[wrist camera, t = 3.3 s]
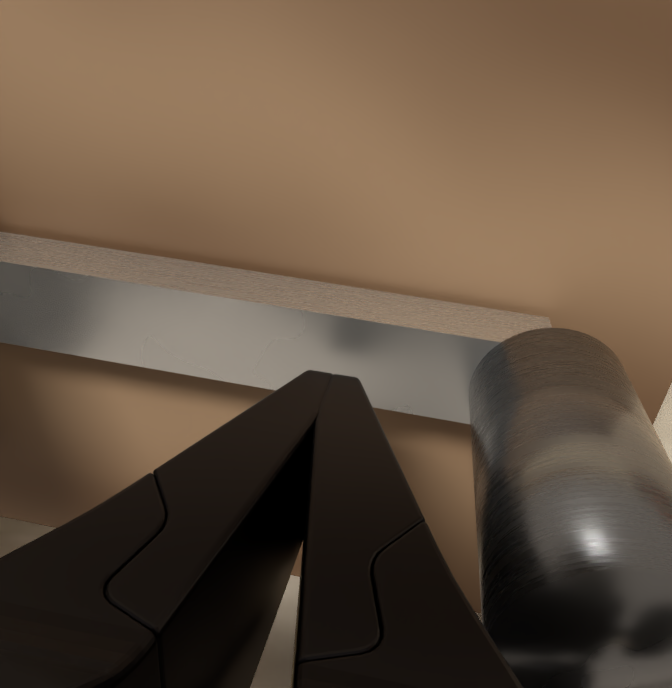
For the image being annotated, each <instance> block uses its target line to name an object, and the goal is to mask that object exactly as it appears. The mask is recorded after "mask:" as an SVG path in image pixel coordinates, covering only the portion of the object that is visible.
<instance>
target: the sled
mask: <svg viewBox="0 0 672 688" xmlns="http://www.w3.org/2000/svg"><path fill="white" fill-rule="evenodd" d="M0 342H1V343H7V344H13V345H19V346H24V347H30V348H36V349H42V350H47V351H53V352H59V353H64V354H70V355H76V356H82V357H87V358H93V359H99V360H105V361H110V362H116V363H122V364H127V365H133V366H139V367H145V368H150V369H156V370H162V371H168V372H173V373H179V374H185V375H190V376H196V377H202V378H208V379H213V380H219V381H225V382H231V383H236V384H242V385H248V386H253V387H259V388H265V389H271V390H277V389H279V388H280V387H282V386H284V385H285V384H287V383H288V382H290V381H291V380H293V379H294V378H296V377H297V376H299V375H300V374H302V373H303V372H305V371H307V370H314V371H321V372H327V373H331V374H339V375H346V376H352V377H357V378H358V379H359V380H360V382H361V384H362V386H363V388H364V390H365V392H366V394H367V396H368V399H369V401H370V403H371V405H372V407H374V408H379V409H385V410H391V411H397V412H402V413H408V414H414V415H419V416H425V417H431V418H437V419H442V420H448V421H454V422H460V423H465V424H470V428H471V445H472V462H473V479H474V496H475V513H476V530H477V546H478V563H479V580H480V597H481V614H482V624H483V625H484V627H485V629H486V630H487V632H488V633H489V635H490V636H491V638H492V639H493V641H494V642H495V644H496V646H497V647H498V649H499V650H500V652H501V653H502V655H503V656H504V658H505V659H506V661H507V663H508V664H509V666H510V667H511V669H512V670H513V672H514V673H515V675H516V677H517V678H518V680H519V681H520V683H521V684H522V686H523V687H524V688H672V463H671V461H670V459H669V457H668V455H667V453H666V451H665V449H664V447H663V445H662V443H661V441H660V439H659V437H658V435H657V433H656V431H655V429H654V427H653V425H652V423H651V421H650V419H649V417H648V415H647V413H646V411H645V409H644V407H643V405H642V403H641V401H640V399H639V397H638V395H637V393H636V391H635V389H634V387H633V385H632V383H631V381H630V379H629V377H628V375H627V373H626V371H625V369H624V367H623V365H622V364H621V362H620V360H619V358H618V357H617V356H616V355H615V353H614V352H613V351H612V350H611V349H610V348H609V347H608V346H606V345H605V344H604V343H602V342H601V341H599V340H598V339H596V338H594V337H592V336H590V335H588V334H585V333H582V332H579V331H575V330H571V329H564V328H552V326H551V323H550V320H549V318H548V317H542V316H536V315H529V314H523V313H517V312H510V311H504V310H498V309H491V308H485V307H478V306H472V305H466V304H459V303H453V302H447V301H440V300H434V299H428V298H421V297H415V296H409V295H402V294H396V293H389V292H383V291H377V290H370V289H364V288H358V287H351V286H345V285H339V284H332V283H326V282H320V281H313V280H307V279H300V278H294V277H288V276H281V275H275V274H269V273H262V272H256V271H250V270H243V269H237V268H231V267H224V266H218V265H211V264H205V263H199V262H192V261H186V260H180V259H173V258H167V257H161V256H154V255H148V254H142V253H135V252H129V251H122V250H116V249H110V248H103V247H97V246H91V245H84V244H78V243H72V242H65V241H59V240H53V239H46V238H40V237H33V236H27V235H21V234H14V233H8V232H2V231H0Z"/></svg>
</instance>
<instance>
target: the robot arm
mask: <svg viewBox="0 0 672 688" xmlns="http://www.w3.org/2000/svg"><path fill="white" fill-rule="evenodd" d="M302 542H303V548H302V560H301V572H300V584H299V595H298V607H297V619H296V630H295V642H294V654H293V665H292V677H291V688H524V687H523V686H522V684H521V683H520V681H519V680H518V678H517V677H516V675H515V673H514V672H513V670H512V669H511V667H510V666H509V664H508V663H507V661H506V659H505V658H504V656H503V655H502V653H501V652H500V650H499V649H498V647H497V646H496V644H495V642H494V641H493V639H492V638H491V636H490V635H489V633H488V632H487V630H486V629H485V627H484V625H483V624H482V622H481V621H480V619H479V618H478V616H477V615H476V613H475V611H474V610H473V608H472V606H471V605H470V603H469V601H468V600H467V598H466V597H465V595H464V593H463V592H462V590H461V588H460V587H459V585H458V583H457V582H456V580H455V578H454V577H453V575H452V573H451V571H450V569H449V567H448V565H447V563H446V561H445V559H444V557H443V555H442V553H441V551H440V550H439V548H438V546H437V544H436V541H435V539H434V537H433V535H432V533H431V531H430V528H429V526H428V524H427V523H425V518H424V516H423V514H422V512H421V510H420V508H419V506H418V503H417V501H416V499H415V497H414V495H413V493H412V491H411V488H410V486H409V484H408V482H407V480H406V478H405V476H404V473H403V471H402V469H401V467H400V465H399V463H398V461H397V458H396V456H395V454H394V452H393V450H392V448H391V446H390V443H389V441H388V439H387V437H386V435H385V433H384V431H383V428H382V426H381V424H380V422H379V420H378V418H377V416H376V414H375V411H374V409H373V407H372V405H371V403H370V401H369V399H368V396H367V394H366V392H365V390H364V388H363V386H362V384H361V382H360V380H359V379H358V378H357V377H352V376H346V375H339V374H331V373H327V372H321V371H314V370H307V371H305V372H303V373H302V374H300V375H299V376H297V377H296V378H294V379H293V380H291V381H290V382H288V383H287V384H285V385H284V386H282V387H280V388H279V389H277V390H276V391H274V392H273V393H271V394H270V395H268V396H267V397H265V398H264V399H262V400H261V401H259V402H257V403H256V404H254V405H253V406H251V407H250V408H248V409H247V410H245V411H244V412H242V413H241V414H239V415H237V416H236V417H234V418H233V419H231V420H230V421H228V422H227V423H225V424H224V425H222V426H221V427H219V428H218V429H216V430H214V431H213V432H211V433H210V434H208V435H207V436H205V437H204V438H202V439H201V440H199V441H198V442H196V443H195V444H193V445H191V446H190V447H188V448H187V449H185V450H184V451H182V452H181V453H179V454H178V455H176V456H175V457H173V458H172V459H170V460H168V461H167V462H165V463H164V464H162V465H161V466H159V467H158V468H156V469H155V470H154V471H153V474H152V473H148V474H147V475H145V476H144V477H142V478H140V479H139V480H137V481H136V482H134V483H133V484H131V485H130V486H128V487H127V488H125V489H123V490H122V491H120V492H118V493H117V494H115V495H114V496H112V497H110V498H109V499H107V500H105V501H104V502H102V503H101V504H99V505H97V506H96V507H94V508H92V509H91V510H89V511H87V512H85V513H83V514H82V515H80V516H78V517H76V518H74V519H72V520H71V521H69V522H67V523H65V524H63V525H62V526H60V527H58V528H56V529H54V530H53V531H51V532H49V533H47V534H45V535H43V536H41V537H39V538H37V539H35V540H34V541H32V542H30V543H28V544H26V545H24V546H22V547H20V548H18V549H16V550H15V551H13V552H11V553H9V554H7V555H5V556H3V557H1V558H0V688H250V686H251V683H252V680H253V677H254V675H255V672H256V669H257V666H258V664H259V661H260V658H261V655H262V652H263V650H264V647H265V644H266V641H267V639H268V636H269V633H270V630H271V628H272V625H273V622H274V619H275V617H276V614H277V611H278V608H279V605H280V603H281V600H282V597H283V594H284V592H285V589H286V586H287V583H288V581H289V578H290V575H291V572H292V570H293V567H294V564H295V561H296V558H297V556H298V553H299V550H300V547H301V545H302Z"/></svg>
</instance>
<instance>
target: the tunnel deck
mask: <svg viewBox="0 0 672 688" xmlns="http://www.w3.org/2000/svg"><path fill="white" fill-rule="evenodd" d="M0 231H2V232H8V233H14V234H21V235H27V236H33V237H40V238H46V239H53V240H59V241H65V242H72V243H78V244H84V245H91V246H97V247H103V248H110V249H116V250H122V251H129V252H135V253H142V254H148V255H154V256H161V257H167V258H173V259H180V260H186V261H192V262H199V263H205V264H211V265H218V266H224V267H231V268H237V269H243V270H250V271H256V272H262V273H269V274H275V275H281V276H288V277H294V278H300V279H307V280H313V281H320V282H326V283H332V284H339V285H345V286H351V287H358V288H364V289H370V290H377V291H383V292H389V293H396V294H402V295H409V296H415V297H421V298H428V299H434V300H440V301H447V302H453V303H459V304H466V305H472V306H478V307H485V308H491V309H498V310H504V311H510V312H517V313H523V314H529V315H536V316H542V317H548V318H549V320H550V323H551V326H552V328H564V329H571V330H575V331H579V332H582V333H585V334H588V335H590V336H592V337H594V338H596V339H598V340H599V341H601V342H602V343H604V344H605V345H606V346H608V347H609V348H610V349H611V350H612V351H613V352H614V353H615V355H616V356H617V357H618V358H619V360H620V362H621V364H622V365H623V367H624V369H625V371H626V373H627V375H628V377H629V379H630V381H631V383H632V385H633V387H634V389H635V391H636V393H637V395H638V397H639V399H640V401H641V403H642V405H643V407H644V409H645V411H646V413H647V415H648V417H649V419H650V421H651V423H652V425H653V423H654V421H655V418H656V416H657V414H658V412H659V409H660V407H661V405H662V403H663V400H664V398H665V396H666V394H667V391H668V389H669V387H670V385H671V382H672V0H0ZM274 391H276V390H271V389H265V388H259V387H253V386H248V385H242V384H236V383H231V382H225V381H219V380H213V379H208V378H202V377H196V376H190V375H185V374H179V373H173V372H168V371H162V370H156V369H150V368H145V367H139V366H133V365H127V364H122V363H116V362H110V361H105V360H99V359H93V358H87V357H82V356H76V355H70V354H64V353H59V352H53V351H47V350H42V349H36V348H30V347H24V346H19V345H13V344H7V343H1V342H0V516H2V517H7V518H12V519H17V520H22V521H27V522H32V523H36V524H41V525H46V526H51V527H56V528H58V527H60V526H62V525H63V524H65V523H67V522H69V521H71V520H72V519H74V518H76V517H78V516H80V515H82V514H83V513H85V512H87V511H89V510H91V509H92V508H94V507H96V506H97V505H99V504H101V503H102V502H104V501H105V500H107V499H109V498H110V497H112V496H114V495H115V494H117V493H118V492H120V491H122V490H123V489H125V488H127V487H128V486H130V485H131V484H133V483H134V482H136V481H137V480H139V479H140V478H142V477H144V476H145V475H147V474H148V473H152V474H153V471H154V470H155V469H156V468H158V467H159V466H161V465H162V464H164V463H165V462H167V461H168V460H170V459H172V458H173V457H175V456H176V455H178V454H179V453H181V452H182V451H184V450H185V449H187V448H188V447H190V446H191V445H193V444H195V443H196V442H198V441H199V440H201V439H202V438H204V437H205V436H207V435H208V434H210V433H211V432H213V431H214V430H216V429H218V428H219V427H221V426H222V425H224V424H225V423H227V422H228V421H230V420H231V419H233V418H234V417H236V416H237V415H239V414H241V413H242V412H244V411H245V410H247V409H248V408H250V407H251V406H253V405H254V404H256V403H257V402H259V401H261V400H262V399H264V398H265V397H267V396H268V395H270V394H271V393H273V392H274ZM373 409H374V411H375V414H376V416H377V418H378V420H379V422H380V424H381V426H382V428H383V431H384V433H385V435H386V437H387V439H388V441H389V443H390V446H391V448H392V450H393V452H394V454H395V456H396V458H397V461H398V463H399V465H400V467H401V469H402V471H403V473H404V476H405V478H406V480H407V482H408V484H409V486H410V488H411V491H412V493H413V495H414V497H415V499H416V501H417V503H418V506H419V508H420V510H421V512H422V514H423V516H424V518H425V523H427V524H428V526H429V528H430V531H431V533H432V535H433V537H434V539H435V541H436V544H437V546H438V548H439V550H440V551H441V553H442V555H443V557H444V559H445V561H446V563H447V565H448V567H449V569H450V571H451V573H452V575H453V577H454V578H455V580H456V582H457V583H458V585H459V587H460V588H461V590H462V592H463V593H464V595H465V597H466V598H467V600H468V601H469V603H470V605H471V606H472V608H473V610H474V611H475V612H478V613H481V597H480V580H479V563H478V546H477V530H476V513H475V496H474V479H473V462H472V445H471V428H470V424H465V423H460V422H454V421H448V420H442V419H437V418H431V417H425V416H419V415H414V414H408V413H402V412H397V411H391V410H385V409H379V408H374V407H373ZM302 548H303V542H302V545H301V547H300V550H299V553H298V556H297V558H296V561H295V564H294V567H293V570H292V572H291V575H294V576H299V577H300V572H301V560H302Z"/></svg>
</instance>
